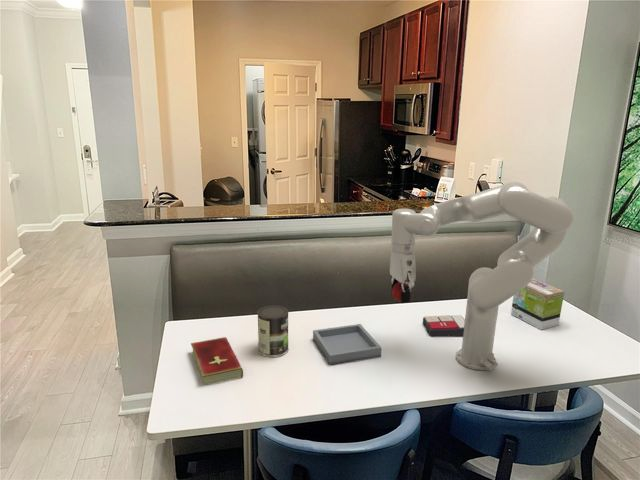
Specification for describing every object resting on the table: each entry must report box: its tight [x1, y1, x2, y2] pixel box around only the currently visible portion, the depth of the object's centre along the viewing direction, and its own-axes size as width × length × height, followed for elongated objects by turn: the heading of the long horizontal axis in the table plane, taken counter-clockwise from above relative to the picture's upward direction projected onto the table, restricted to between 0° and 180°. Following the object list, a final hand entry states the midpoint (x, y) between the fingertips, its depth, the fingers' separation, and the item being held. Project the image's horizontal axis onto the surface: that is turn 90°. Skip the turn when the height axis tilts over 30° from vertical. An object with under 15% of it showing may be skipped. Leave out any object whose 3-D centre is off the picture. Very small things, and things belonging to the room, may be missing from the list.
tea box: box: [510, 277, 565, 331], centre depth 181 cm, size 15×10×15 cm, turn 25°
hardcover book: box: [190, 336, 244, 386], centre depth 148 cm, size 12×21×4 cm, turn 24°
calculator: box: [422, 314, 465, 338], centre depth 174 cm, size 11×4×15 cm
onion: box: [391, 282, 408, 303], centre depth 155 cm, size 6×6×8 cm
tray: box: [312, 323, 382, 366], centre depth 159 cm, size 18×18×4 cm
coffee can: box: [256, 305, 289, 358], centre depth 156 cm, size 10×10×14 cm
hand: (400, 298), depth 156 cm, fingers closed on onion, 5 cm apart
